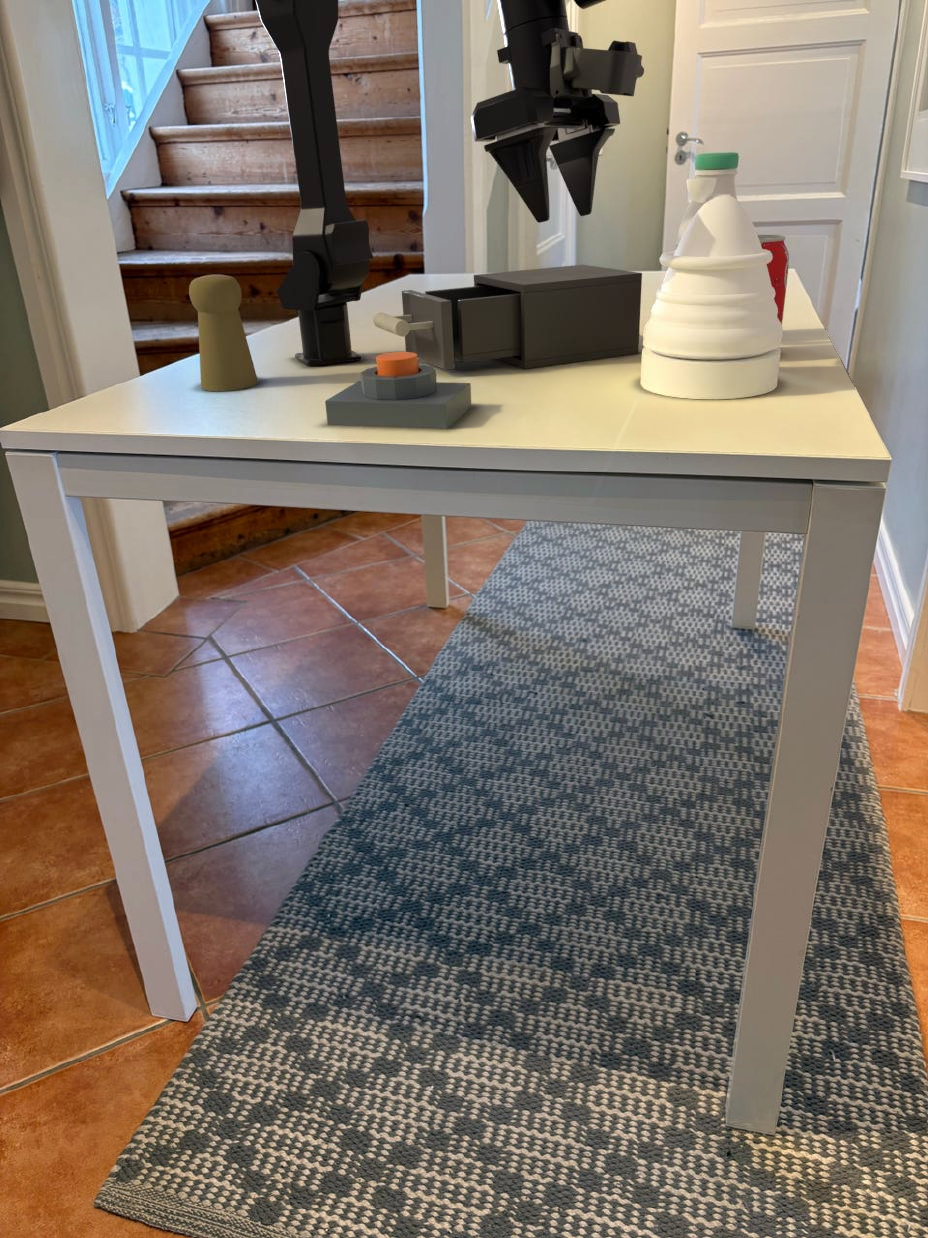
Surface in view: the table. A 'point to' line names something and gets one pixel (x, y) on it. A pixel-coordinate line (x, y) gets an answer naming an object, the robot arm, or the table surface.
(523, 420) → the table surface
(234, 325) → the cork
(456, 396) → the control block
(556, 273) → the cabinet
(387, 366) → the button
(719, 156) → the milk bottle
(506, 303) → the drawer
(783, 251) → the soda can
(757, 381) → the honey pot
